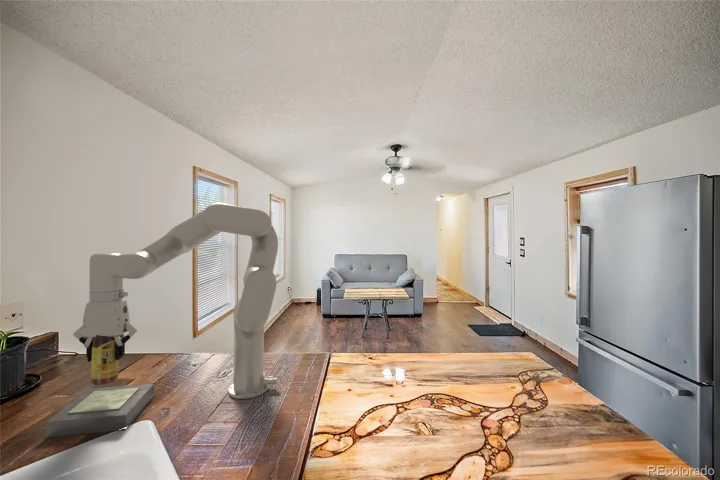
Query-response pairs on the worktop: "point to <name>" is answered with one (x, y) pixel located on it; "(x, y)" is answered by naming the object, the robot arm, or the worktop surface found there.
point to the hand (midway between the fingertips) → (105, 358)
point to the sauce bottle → (104, 360)
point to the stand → (100, 410)
